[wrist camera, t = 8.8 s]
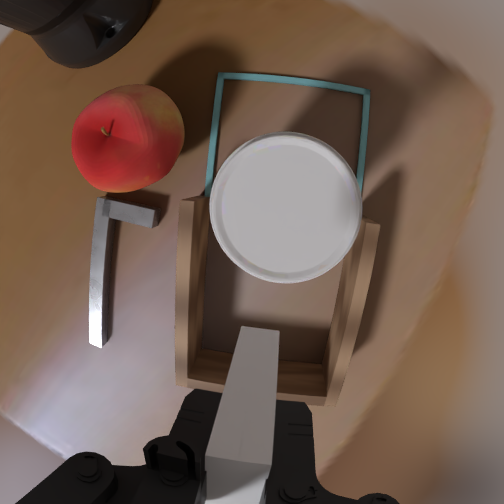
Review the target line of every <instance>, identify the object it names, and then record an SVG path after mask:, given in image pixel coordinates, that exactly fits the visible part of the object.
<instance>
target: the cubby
mask: <svg viewBox="0 0 504 504" xmlns="http://www.w3.org/2000/svg"><path fill="white" fill-rule="evenodd" d="M209 219H210V197H206V196H195V197H191V198H187V199H183V200H180V207H179V222H178V240H177V261H176V294H175V372H176V385H178V386H183V387H187V388H192V389H195V388H197V389H203V390H208V391H214V392H220V393H223V390H224V387H225V383H226V380H227V376H228V373H229V369H230V366H231V362H232V358H233V355H234V354H233V353H226V352H220V351H214V350H208V349H203V348H202V331H203V310H204V292H205V275H206V260H207V245H208V232H209ZM379 231H380V224H378V223H376V222H374V221H372V220H371V219H369V218H367V217H365V216H363V215H362V218H361V224H360V228H359V232H358V234H357V237H356V239H355V241H354V243H353V245H352V247H351V248H350V250H349V251H348V253H347V254H346V255H345V257H344V262H343V268H342V273H341V279H340V284H339V289H338V294H337V299H336V304H335V309H334V314H333V318H332V323H331V327H330V332H329V336H328V340H327V345H326V349H325V353H324V357H323V361H322V364H314V363H303V362H294V361H285V360H278V373H277V391H276V399H277V400H287V401H298V402H305V403H306V405H317V406H334V407H336V404H337V401H338V398H339V395H340V392H341V389H342V386H343V383H344V379H345V376H346V373H347V369H348V366H349V363H350V359H351V356H352V352H353V349H354V345H355V341H356V338H357V334H358V330H359V326H360V322H361V318H362V314H363V310H364V306H365V301H366V297H367V293H368V288H369V284H370V279H371V274H372V269H373V264H374V259H375V254H376V248H377V243H378V237H379Z"/></svg>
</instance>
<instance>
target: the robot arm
mask: <svg viewBox="0 0 504 504" xmlns="http://www.w3.org/2000/svg"><path fill="white" fill-rule="evenodd" d="M152 1H153V0H0V24H2V25H5V26H7V27H10V28H13V29H16V30H18V31H21V32H24V33H26V34H28V35H31V37H32V38H33V39H34V40H35V41H36V43H37V44H38V45H39V46H40V47H41V48H42V49H43V50H44V52H45V53H46V55H47V56H48V57H49V58H50V59H51V60H53V61H54V62H56V63H58V64H61V65H63V66H66V67H69V68H85V67H89V66H92V65H95V64H97V63H99V62H101V61H103V60H105V59H107V58H109V57H110V56H112V55H113V54H114V53H116V52H117V51H118V50H120V49H121V48H122V47H123V46H124V45H125V44H126V43H127V42H128V41H129V40H130V39H131V38H132V37H133V36H134V35H135V34H136V33H137V31H138V30H139V29H140V27H141V26H142V24H143V23H144V21H145V19H146V17H147V15H148V13H149V11H150V8H151V5H152ZM278 353H279V331H277V330H269V329H261V328H254V327H246V326H241V330H240V333H239V337H238V340H237V344H236V348H235V351H234V355H233V358H232V362H231V366H230V369H229V373H228V376H227V380H226V383H225V387H224V390H223V393H220V392H214V391H208V390H203V389H197V388H195V389H194V390H193V391H192V392H191V393H189V394H188V395H187V396H186V397H185V399H184V401H183V403H182V406H181V409H180V410H179V413H178V415H177V419H176V420H175V422H174V424H173V427H172V429H171V431H170V434H169V436H168V435H167V436H162V437H157V438H155V439H153V440H151V441H149V442H148V443H147V444H146V446H145V447H144V448H143V452H144V456H145V461H146V464H145V465H142V466H118V465H112V464H111V462H110V461H109V460H108V459H106V458H105V457H104V456H102V455H100V454H98V453H94V452H82V453H77V454H75V455H73V456H72V457H70V458H69V459H68V460H66V461H65V462H64V463H63V464H62V465H61V466H59V467H58V468H57V469H56V470H55V471H54V472H52V473H51V474H50V475H49V476H48V477H47V478H45V479H44V480H43V481H42V482H41V483H39V484H38V485H37V486H36V487H35V488H33V489H32V490H31V491H30V492H29V493H28V494H26V495H25V496H24V497H23V498H22V499H20V500H19V501H18V502H17V503H15V504H399V503H398V502H397V500H396V499H394V498H392V497H391V496H389V495H386V494H381V493H373V494H368V495H365V496H363V497H361V498H359V500H354V499H350V498H346V497H342V496H338V495H335V494H333V493H330V492H329V491H327V490H326V489H324V488H323V487H322V486H321V484H320V483H319V481H318V479H317V477H316V471H315V453H314V437H313V427H312V426H313V423H312V413H311V411H310V410H309V408H308V406H307V405H306V403H305V402H298V401H287V400H277V399H276V391H277V373H278Z"/></svg>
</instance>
